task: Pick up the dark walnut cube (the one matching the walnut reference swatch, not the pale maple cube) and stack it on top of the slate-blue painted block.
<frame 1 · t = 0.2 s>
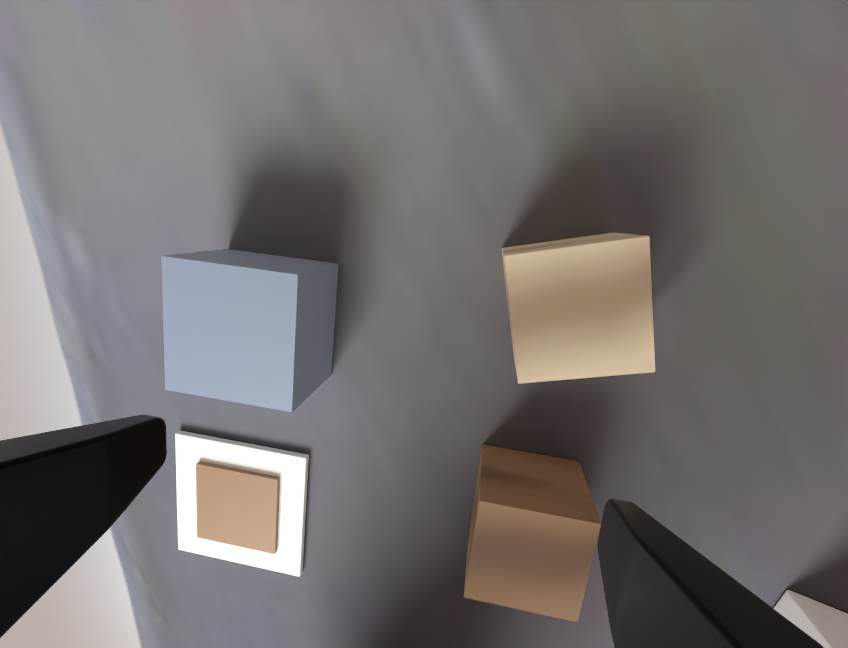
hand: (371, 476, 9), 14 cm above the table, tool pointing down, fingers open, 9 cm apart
maple block: (560, 292, 21), on the table
reference swatch: (242, 502, 27), on the table
walnut block: (522, 493, 24), on the table
base block: (281, 312, 24), on the table
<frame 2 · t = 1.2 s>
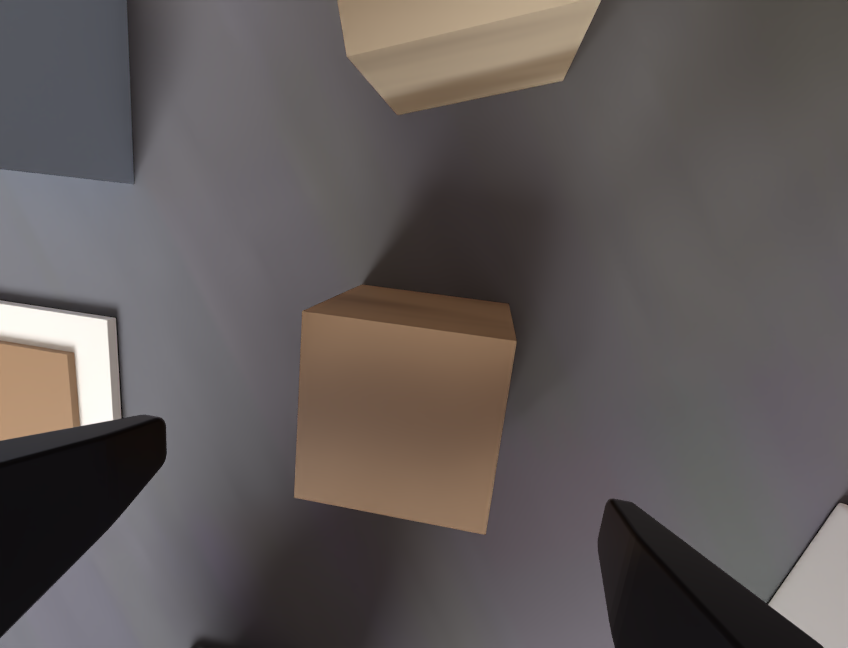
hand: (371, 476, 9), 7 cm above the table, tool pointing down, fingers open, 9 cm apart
maple block: (466, 8, 13), on the table
reference swatch: (34, 398, 18), on the table
walnut block: (426, 363, 15), on the table
base block: (55, 86, 15), on the table
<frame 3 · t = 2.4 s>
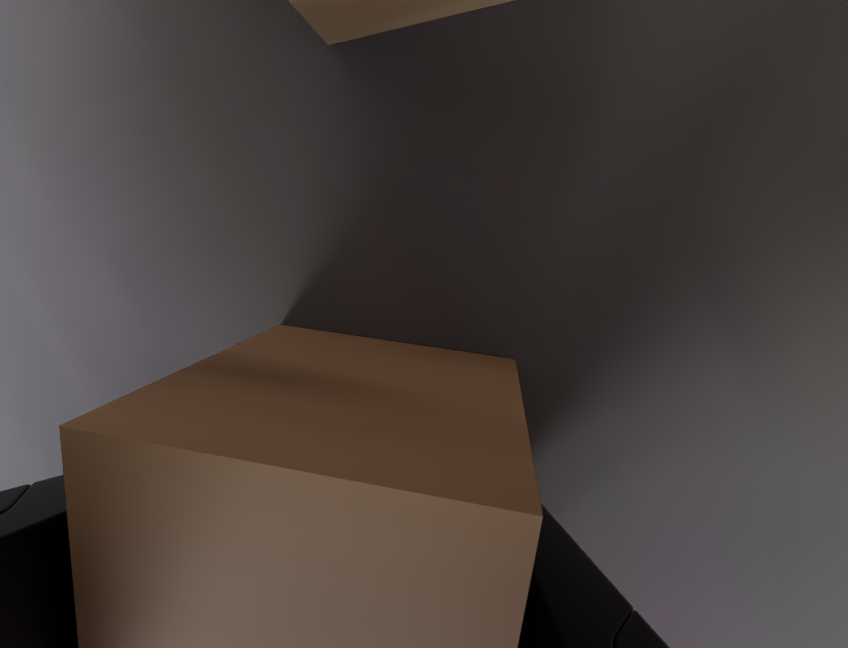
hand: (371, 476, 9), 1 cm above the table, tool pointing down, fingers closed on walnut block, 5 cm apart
walnut block: (383, 450, 10), on the table, touching gripper
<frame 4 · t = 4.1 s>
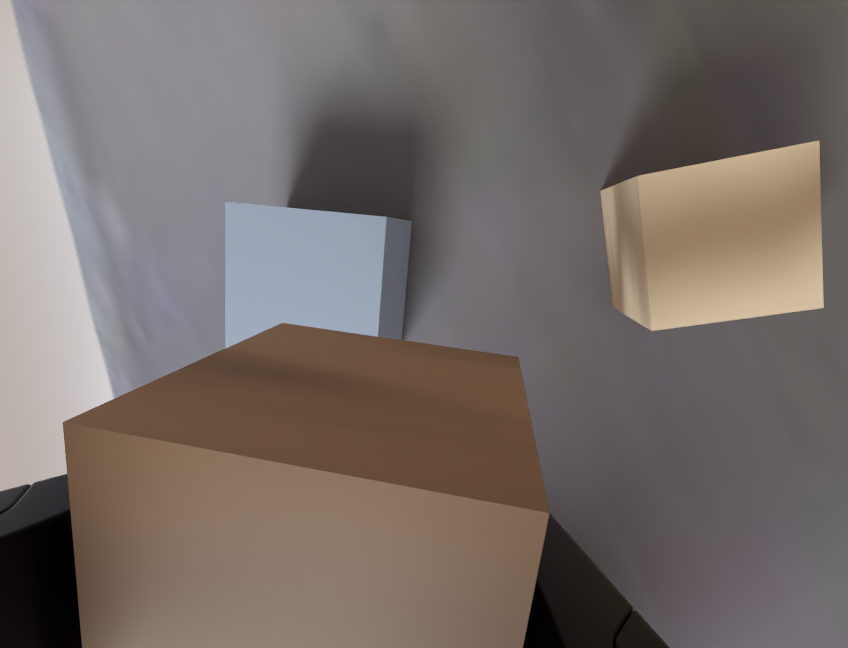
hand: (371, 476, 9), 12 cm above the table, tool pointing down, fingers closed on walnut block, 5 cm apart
maple block: (668, 239, 19), on the table
walnut block: (385, 448, 10), point 11 cm above the table, touching gripper
base block: (345, 279, 21), on the table
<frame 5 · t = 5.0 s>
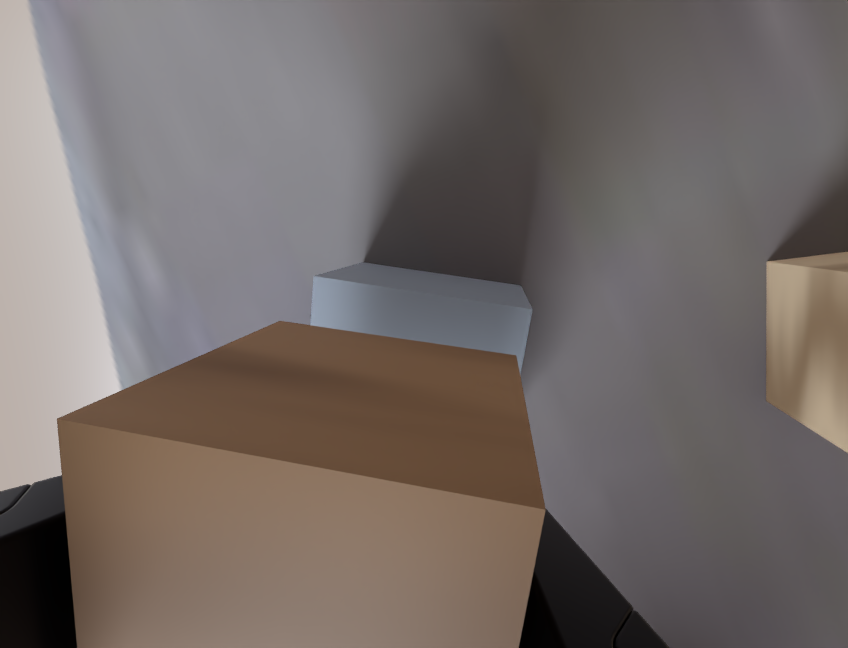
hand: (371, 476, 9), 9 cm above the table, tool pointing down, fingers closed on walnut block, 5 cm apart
maple block: (847, 324, 15), on the table
walnut block: (383, 447, 10), point 8 cm above the table, touching gripper
base block: (430, 348, 17), on the table
when the fingers open (7 cm above the table, at t = 5.7 s): walnut block drops 1 cm, point 5 cm above the table.
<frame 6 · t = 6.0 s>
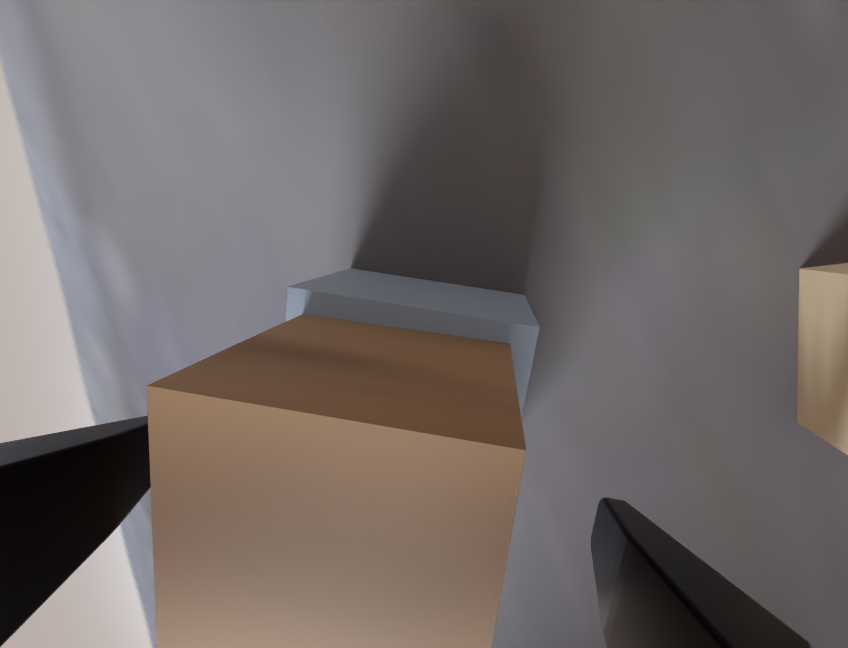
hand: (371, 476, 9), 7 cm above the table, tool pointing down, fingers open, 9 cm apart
walnut block: (393, 425, 11), point 5 cm above the table
base block: (424, 363, 16), on the table
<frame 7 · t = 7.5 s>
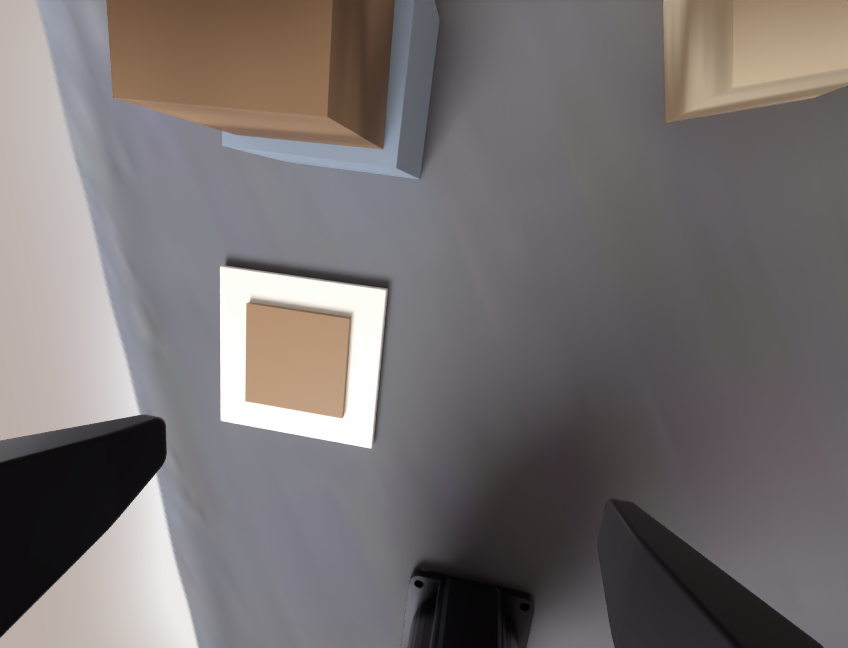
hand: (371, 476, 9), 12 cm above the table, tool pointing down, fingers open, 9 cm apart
maple block: (736, 38, 16), on the table
reference swatch: (301, 357, 22), on the table
walnut block: (311, 56, 14), point 5 cm above the table
base block: (359, 95, 19), on the table
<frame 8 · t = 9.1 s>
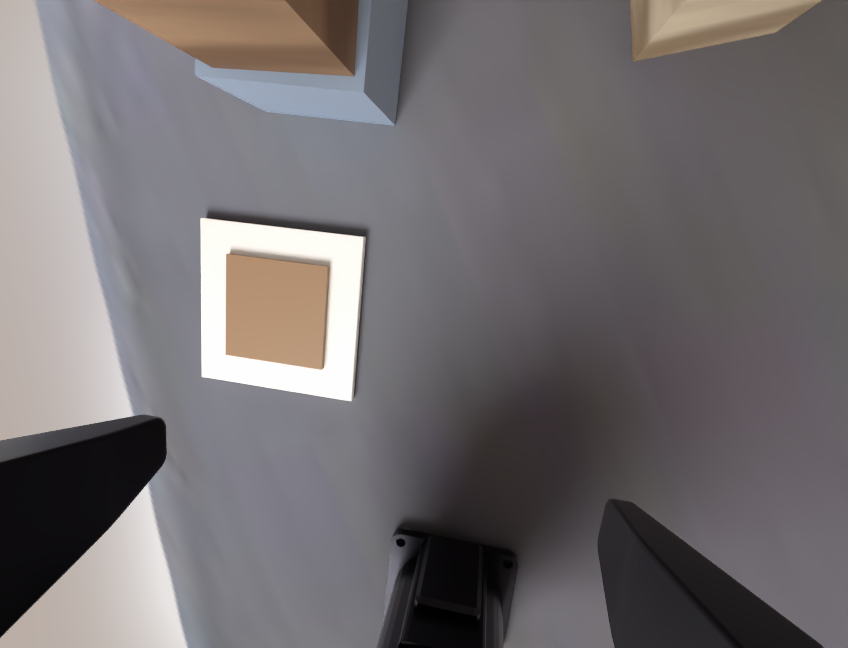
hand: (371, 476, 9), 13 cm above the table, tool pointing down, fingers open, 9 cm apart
reference swatch: (281, 309, 22), on the table
base block: (335, 44, 19), on the table, touching walnut block
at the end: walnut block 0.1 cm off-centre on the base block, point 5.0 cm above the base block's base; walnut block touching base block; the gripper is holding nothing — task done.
